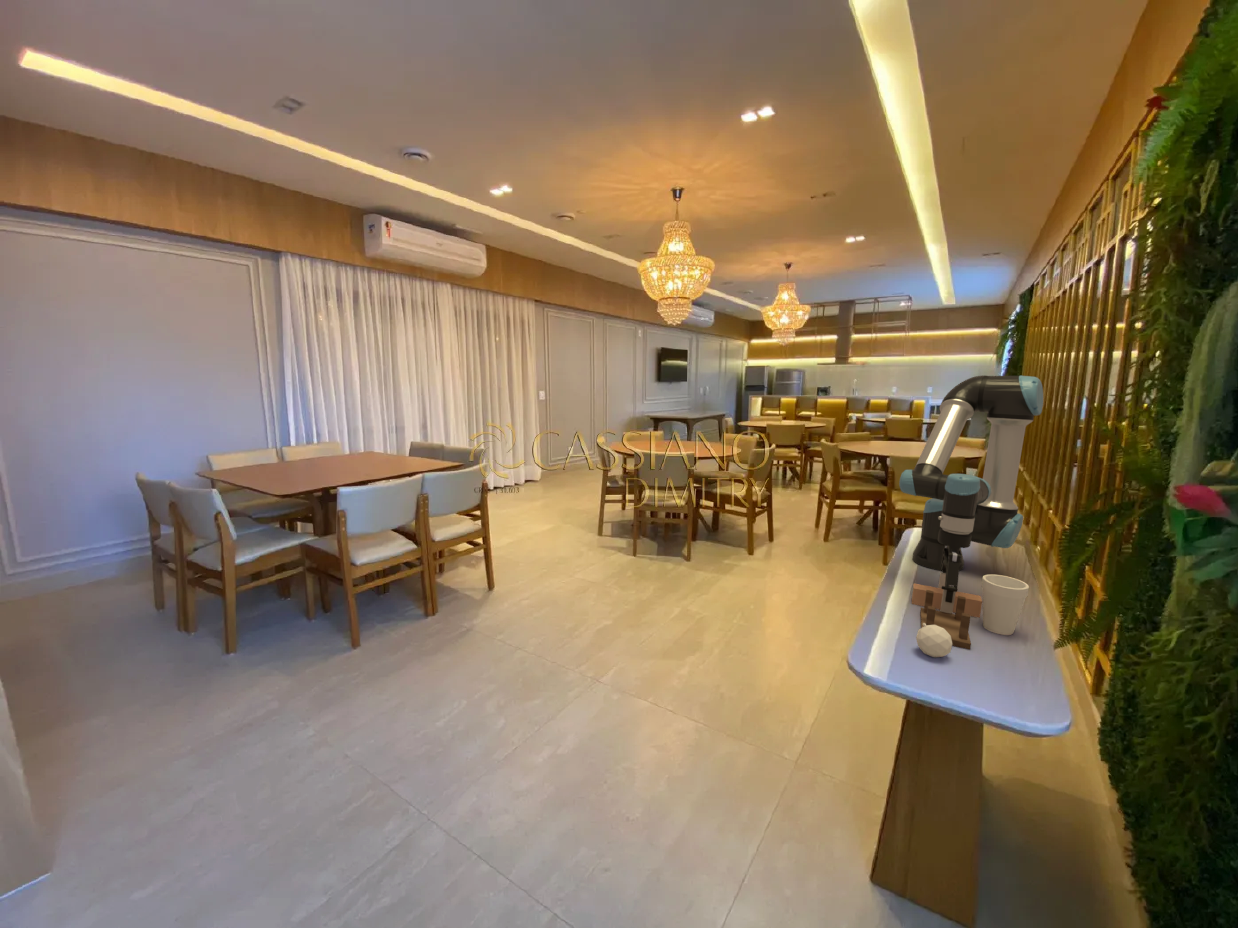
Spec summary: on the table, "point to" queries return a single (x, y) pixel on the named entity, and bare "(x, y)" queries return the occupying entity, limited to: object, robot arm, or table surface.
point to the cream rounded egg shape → (934, 640)
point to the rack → (948, 620)
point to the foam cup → (1002, 602)
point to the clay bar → (919, 595)
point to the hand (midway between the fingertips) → (944, 603)
